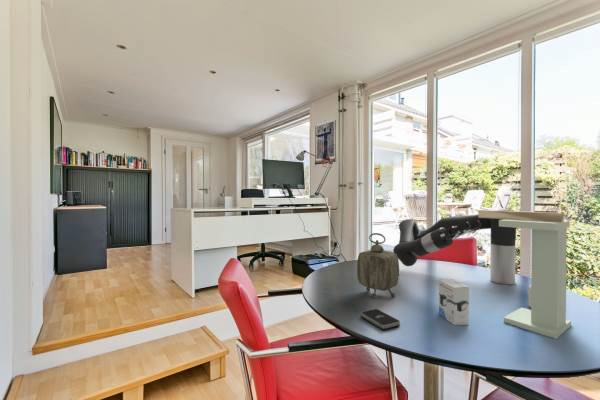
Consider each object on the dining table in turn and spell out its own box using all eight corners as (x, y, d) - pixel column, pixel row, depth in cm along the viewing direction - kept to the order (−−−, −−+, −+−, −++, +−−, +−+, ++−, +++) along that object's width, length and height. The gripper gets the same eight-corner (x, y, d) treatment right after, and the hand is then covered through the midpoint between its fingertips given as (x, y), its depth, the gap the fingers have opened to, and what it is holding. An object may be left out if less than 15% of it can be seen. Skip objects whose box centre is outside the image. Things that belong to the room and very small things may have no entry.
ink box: (438, 314, 95) (438, 279, 94) (452, 313, 95) (452, 278, 95) (454, 325, 86) (454, 287, 86) (469, 325, 86) (469, 286, 86)
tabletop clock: (399, 297, 110) (399, 233, 110) (388, 304, 103) (388, 236, 103) (366, 289, 120) (366, 230, 119) (354, 294, 113) (354, 232, 113)
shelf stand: (516, 310, 97) (516, 217, 97) (571, 325, 86) (572, 220, 85) (498, 320, 89) (498, 220, 89) (555, 338, 78) (556, 223, 77)
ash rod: (481, 217, 101) (482, 209, 101) (563, 221, 82) (564, 212, 82) (478, 217, 99) (478, 210, 99) (561, 222, 81) (561, 213, 81)
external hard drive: (376, 314, 95) (376, 308, 95) (401, 328, 85) (401, 321, 85) (360, 318, 92) (359, 312, 92) (383, 333, 82) (383, 326, 82)
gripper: (450, 247, 116) (488, 231, 104) (431, 251, 108) (470, 234, 96) (441, 230, 119) (477, 213, 107) (422, 233, 110) (459, 215, 99)
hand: (474, 223), depth 101 cm, fingers open, 8 cm apart
